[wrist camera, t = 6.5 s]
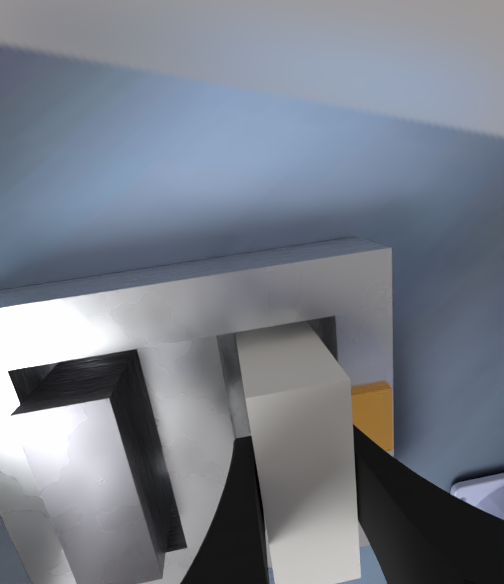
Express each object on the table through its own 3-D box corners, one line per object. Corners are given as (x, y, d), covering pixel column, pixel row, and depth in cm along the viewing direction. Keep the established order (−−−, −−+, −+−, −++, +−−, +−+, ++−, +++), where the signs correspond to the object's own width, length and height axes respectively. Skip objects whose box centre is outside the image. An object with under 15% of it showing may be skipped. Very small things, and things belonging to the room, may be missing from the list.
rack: (365, 484, 19) (414, 576, 14) (74, 544, 18) (27, 665, 13) (355, 236, 15) (418, 255, 10) (-22, 293, 14) (-139, 342, 9)
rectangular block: (315, 460, 17) (360, 577, 12) (256, 471, 17) (277, 596, 12) (301, 313, 15) (350, 379, 10) (233, 325, 15) (245, 398, 9)
